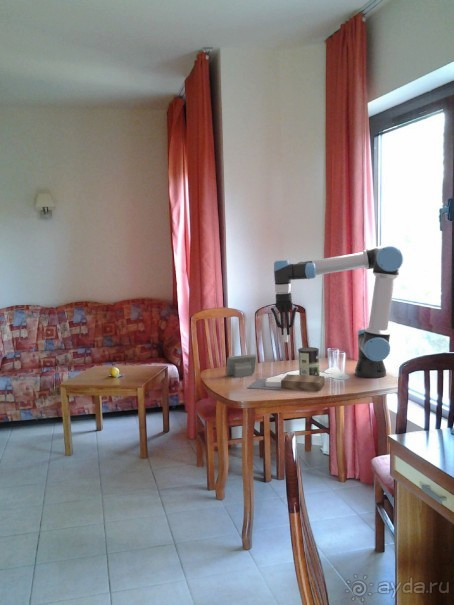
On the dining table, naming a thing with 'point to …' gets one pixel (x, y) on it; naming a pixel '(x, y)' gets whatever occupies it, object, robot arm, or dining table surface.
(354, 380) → the dining table surface
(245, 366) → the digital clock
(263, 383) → the mat
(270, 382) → the coaster
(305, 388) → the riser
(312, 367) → the coffee can
